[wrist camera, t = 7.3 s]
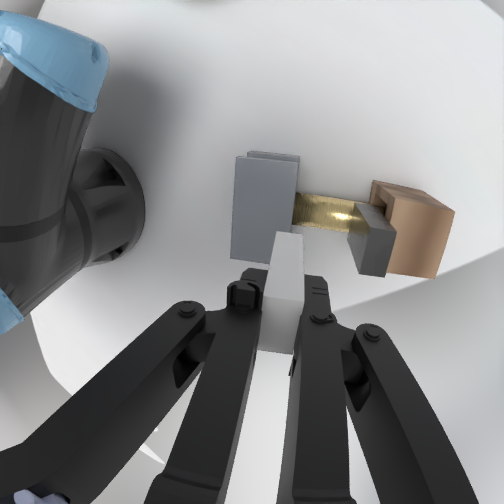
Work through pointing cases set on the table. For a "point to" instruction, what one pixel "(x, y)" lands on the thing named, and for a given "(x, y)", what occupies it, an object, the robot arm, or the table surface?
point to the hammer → (351, 228)
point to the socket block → (414, 228)
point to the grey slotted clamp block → (262, 203)
